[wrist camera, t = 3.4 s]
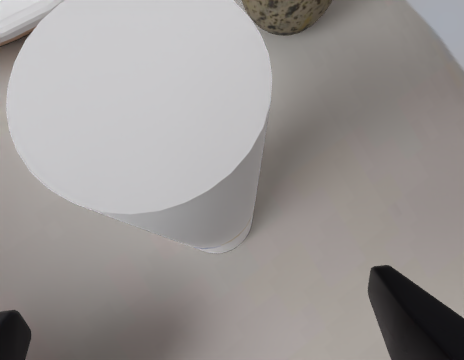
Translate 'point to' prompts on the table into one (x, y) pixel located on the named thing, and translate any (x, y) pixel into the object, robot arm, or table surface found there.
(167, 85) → the tube
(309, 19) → the decorative egg
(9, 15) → the bowl
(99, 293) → the table surface
